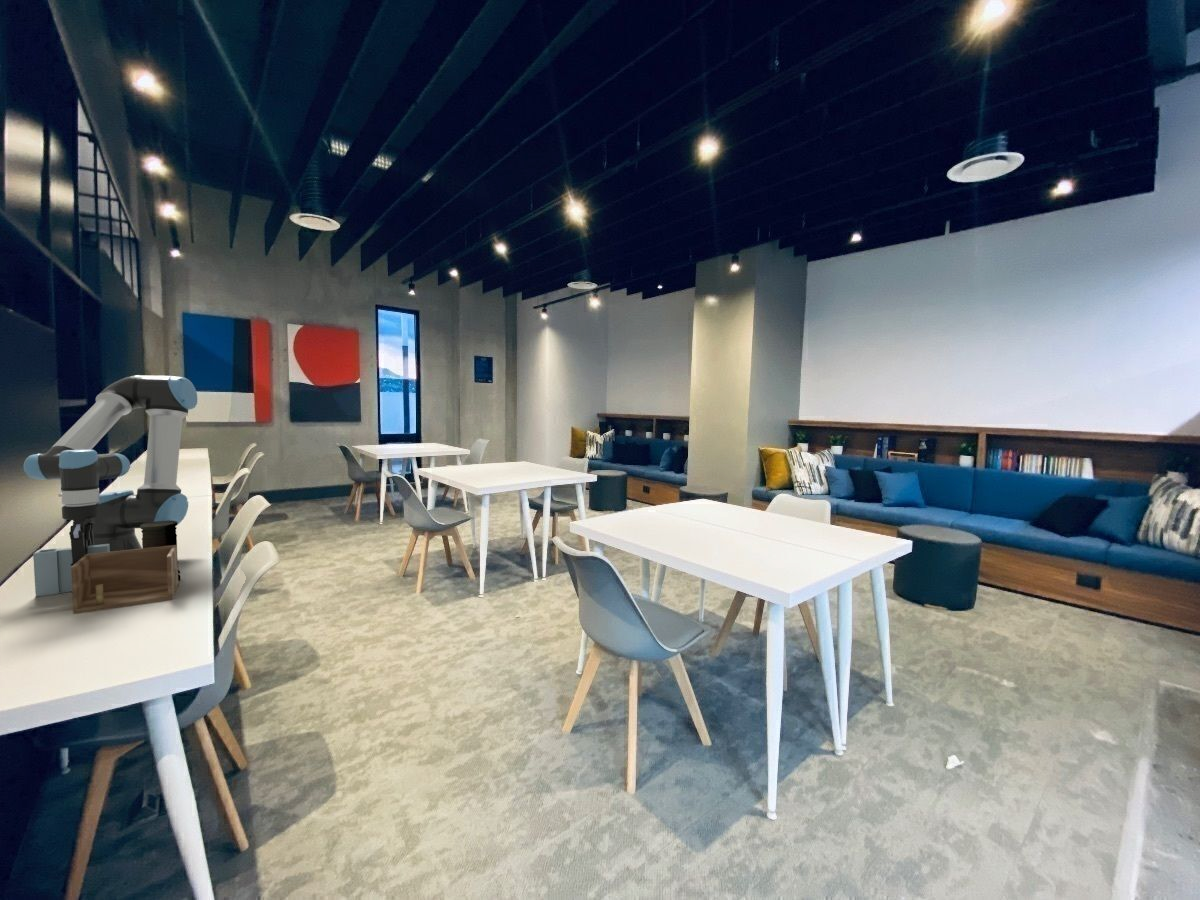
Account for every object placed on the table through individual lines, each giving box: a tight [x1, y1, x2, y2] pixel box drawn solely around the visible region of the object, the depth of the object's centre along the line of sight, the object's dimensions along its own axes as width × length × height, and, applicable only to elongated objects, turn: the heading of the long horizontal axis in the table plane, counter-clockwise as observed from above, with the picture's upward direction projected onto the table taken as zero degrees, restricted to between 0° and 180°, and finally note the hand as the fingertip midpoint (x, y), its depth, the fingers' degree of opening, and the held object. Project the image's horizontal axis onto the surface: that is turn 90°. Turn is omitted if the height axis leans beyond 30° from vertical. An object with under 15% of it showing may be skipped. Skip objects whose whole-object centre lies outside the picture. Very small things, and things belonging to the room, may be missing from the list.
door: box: [32, 544, 110, 597], centre depth 142 cm, size 5×14×12 cm, turn 125°
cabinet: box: [71, 544, 179, 615], centre depth 136 cm, size 14×19×12 cm
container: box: [139, 521, 182, 582], centre depth 149 cm, size 9×9×18 cm
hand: (85, 584), depth 143 cm, fingers closed on door, 3 cm apart
